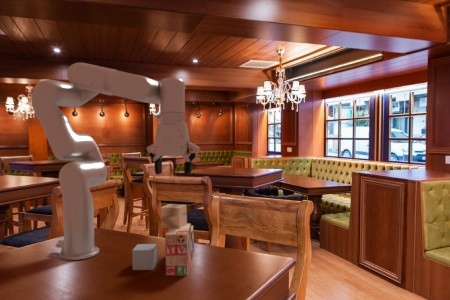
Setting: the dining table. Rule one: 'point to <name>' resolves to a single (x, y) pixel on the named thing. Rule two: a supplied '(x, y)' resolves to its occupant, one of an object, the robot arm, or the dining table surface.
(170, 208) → the maple cube
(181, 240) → the stack of blocks
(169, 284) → the dining table surface
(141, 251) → the bluegrey block
